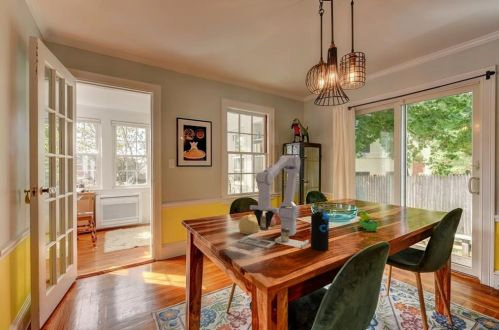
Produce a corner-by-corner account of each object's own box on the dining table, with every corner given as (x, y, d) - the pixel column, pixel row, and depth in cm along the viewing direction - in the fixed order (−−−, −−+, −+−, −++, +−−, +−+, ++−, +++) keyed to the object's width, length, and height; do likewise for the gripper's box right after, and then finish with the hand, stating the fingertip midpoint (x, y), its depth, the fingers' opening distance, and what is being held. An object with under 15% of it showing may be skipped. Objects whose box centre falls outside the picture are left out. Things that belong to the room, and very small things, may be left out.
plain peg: (283, 239, 120) (283, 227, 120) (290, 240, 118) (290, 228, 118) (279, 241, 116) (279, 229, 116) (287, 243, 114) (287, 230, 114)
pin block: (247, 240, 122) (247, 236, 122) (275, 246, 114) (275, 242, 114) (237, 245, 115) (238, 240, 115) (267, 251, 107) (267, 247, 107)
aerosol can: (306, 251, 108) (307, 207, 108) (316, 246, 114) (316, 205, 114) (323, 256, 102) (324, 209, 102) (332, 251, 108) (333, 207, 108)
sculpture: (256, 237, 127) (256, 217, 127) (235, 235, 131) (235, 215, 131) (262, 232, 138) (262, 213, 138) (242, 229, 142) (243, 211, 142)
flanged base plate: (282, 240, 123) (282, 235, 123) (309, 245, 115) (309, 240, 115) (274, 245, 115) (274, 239, 115) (302, 251, 108) (302, 245, 108)
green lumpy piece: (379, 231, 141) (379, 212, 141) (364, 231, 141) (364, 212, 141) (370, 226, 152) (370, 209, 152) (356, 226, 153) (356, 208, 153)
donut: (257, 221, 163) (257, 214, 163) (278, 223, 158) (278, 216, 158) (250, 226, 150) (250, 218, 150) (272, 229, 145) (272, 220, 145)
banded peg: (258, 229, 113) (258, 216, 113) (263, 227, 115) (264, 215, 115) (264, 231, 110) (264, 218, 110) (270, 229, 112) (270, 216, 112)
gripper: (246, 197, 113) (246, 225, 113) (274, 199, 105) (274, 230, 105) (254, 195, 119) (254, 222, 119) (281, 198, 111) (280, 227, 111)
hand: (263, 226), depth 112 cm, fingers closed on banded peg, 4 cm apart
